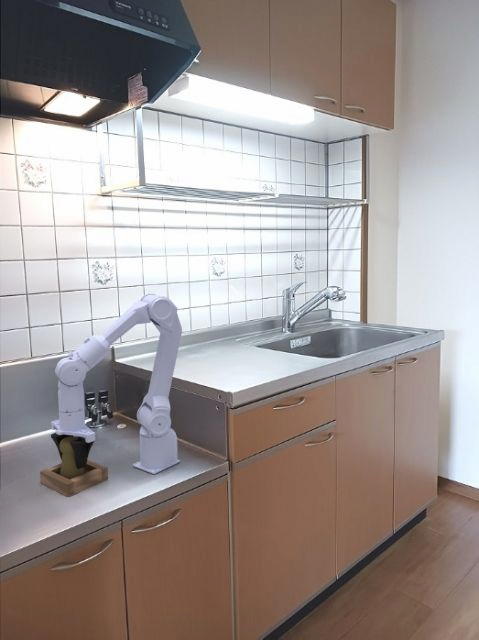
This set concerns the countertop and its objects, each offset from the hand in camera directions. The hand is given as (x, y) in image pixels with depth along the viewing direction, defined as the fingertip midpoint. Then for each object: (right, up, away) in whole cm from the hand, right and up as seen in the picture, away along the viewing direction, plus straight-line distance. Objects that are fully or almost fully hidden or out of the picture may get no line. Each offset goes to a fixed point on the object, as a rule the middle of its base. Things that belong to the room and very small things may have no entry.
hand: (73, 463), depth 119 cm
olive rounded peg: (0, -5, 0) cm, 5 cm away
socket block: (0, -4, +1) cm, 4 cm away
